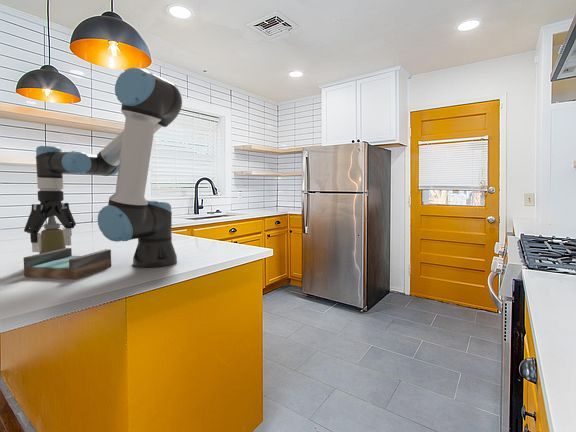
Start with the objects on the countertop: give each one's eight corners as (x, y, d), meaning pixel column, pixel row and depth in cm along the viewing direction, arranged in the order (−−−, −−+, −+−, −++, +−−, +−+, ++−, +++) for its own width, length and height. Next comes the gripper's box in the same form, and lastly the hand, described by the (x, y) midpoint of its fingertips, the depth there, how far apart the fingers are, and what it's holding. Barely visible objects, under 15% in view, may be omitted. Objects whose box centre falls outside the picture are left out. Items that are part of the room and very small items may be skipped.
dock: (111, 266, 116) (110, 249, 116) (75, 279, 99) (74, 259, 99) (66, 264, 118) (66, 247, 117) (24, 276, 101) (23, 257, 100)
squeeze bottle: (52, 265, 115) (50, 215, 114) (33, 264, 117) (31, 214, 115) (72, 261, 123) (70, 213, 122) (54, 259, 125) (52, 212, 123)
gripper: (67, 189, 130) (69, 242, 132) (8, 189, 106) (11, 254, 107) (85, 190, 130) (86, 243, 131) (29, 190, 105) (32, 255, 107)
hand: (52, 248), depth 119 cm, fingers open, 13 cm apart
